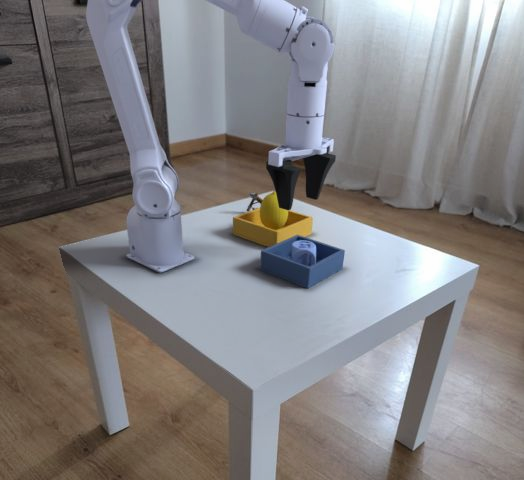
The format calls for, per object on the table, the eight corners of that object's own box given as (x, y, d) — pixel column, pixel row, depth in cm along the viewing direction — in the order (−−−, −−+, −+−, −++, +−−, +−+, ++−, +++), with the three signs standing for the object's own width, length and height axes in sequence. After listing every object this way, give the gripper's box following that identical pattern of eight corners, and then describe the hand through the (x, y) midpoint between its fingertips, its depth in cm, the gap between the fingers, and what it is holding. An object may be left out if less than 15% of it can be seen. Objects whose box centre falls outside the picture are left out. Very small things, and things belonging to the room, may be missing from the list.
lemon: (284, 238, 95) (286, 197, 90) (256, 235, 96) (257, 194, 91) (289, 228, 99) (291, 188, 95) (262, 225, 100) (263, 186, 96)
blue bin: (260, 269, 84) (260, 250, 82) (296, 252, 91) (297, 234, 89) (308, 288, 79) (309, 268, 77) (342, 268, 85) (345, 250, 83)
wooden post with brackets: (245, 206, 108) (253, 188, 105) (275, 226, 108) (284, 208, 105) (241, 209, 107) (250, 191, 104) (272, 228, 107) (281, 211, 104)
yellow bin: (232, 234, 97) (232, 217, 95) (268, 220, 104) (269, 204, 102) (276, 250, 91) (277, 232, 89) (311, 234, 98) (313, 217, 96)
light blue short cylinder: (291, 271, 83) (292, 249, 81) (289, 261, 86) (291, 239, 84) (314, 271, 83) (316, 249, 81) (312, 261, 86) (314, 240, 84)
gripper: (297, 123, 67) (291, 219, 75) (353, 112, 76) (342, 198, 84) (258, 116, 71) (256, 209, 79) (316, 106, 80) (309, 190, 88)
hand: (298, 203), depth 82 cm, fingers open, 7 cm apart
